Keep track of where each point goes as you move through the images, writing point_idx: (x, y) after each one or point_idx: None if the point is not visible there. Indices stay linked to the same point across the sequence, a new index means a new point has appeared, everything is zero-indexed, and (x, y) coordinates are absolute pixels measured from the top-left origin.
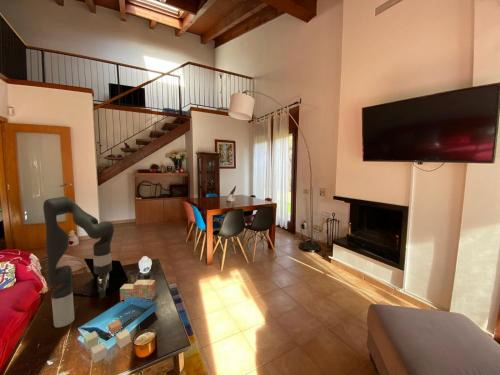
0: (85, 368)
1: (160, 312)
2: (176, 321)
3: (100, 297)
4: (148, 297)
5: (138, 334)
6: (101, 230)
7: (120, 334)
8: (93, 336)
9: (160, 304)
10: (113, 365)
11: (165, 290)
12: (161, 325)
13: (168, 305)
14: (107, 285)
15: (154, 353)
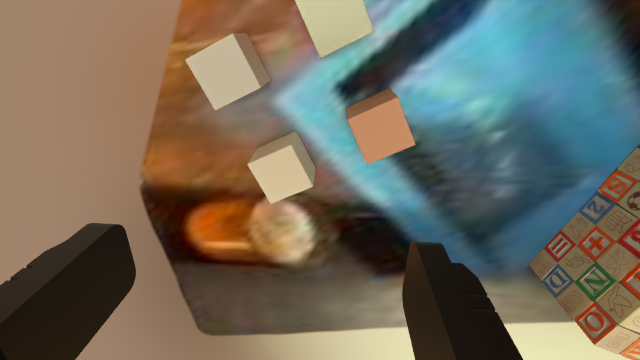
0: (187, 20)
1: None
2: (326, 327)
3: (94, 231)
4: (553, 267)
5: (313, 210)
6: None
7: (282, 164)
8: (324, 30)
9: None
10: (173, 131)
11: None
12: (328, 284)
13: None
14: (410, 329)
15: (191, 255)
